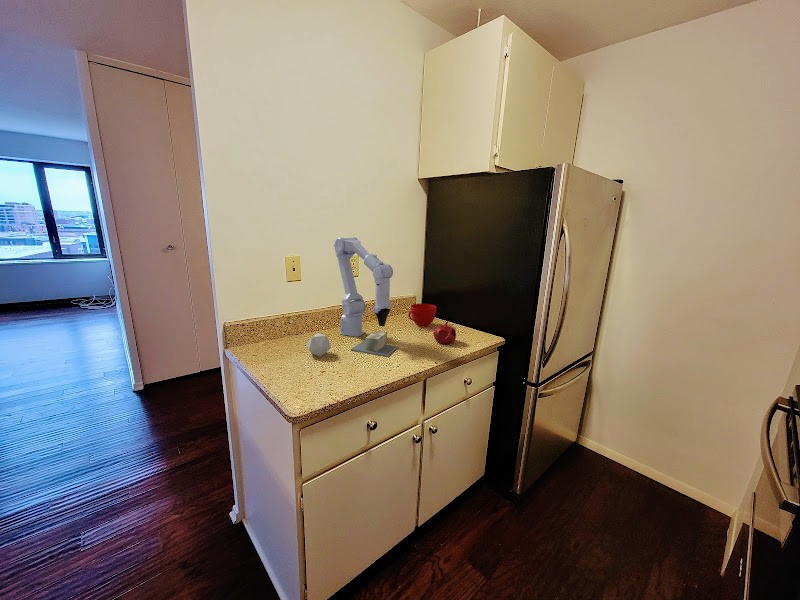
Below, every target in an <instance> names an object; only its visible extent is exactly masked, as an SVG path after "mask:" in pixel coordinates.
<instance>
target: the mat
mask: <svg viewBox="0 0 800 600" xmlns="http://www.w3.org/2000/svg"><path fill="white" fill-rule="evenodd" d="M398 347H399V346H397V345H390V344H386V345H385V346H383V347H382V348H381V349H380V350H378V351H371V350H366V340H363V341H361V342H360V343H358V344H356V345H354V346H353V347H352V348H350V352H358V353H364V354H369V355H373V356H380V357H381V356H382V357H385V358H386V357H387V358H388V357H390V356H391V354H392V353H394V352H395V351H396V350H397V349H398Z"/></svg>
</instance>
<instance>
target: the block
mask: <svg viewBox="0 0 800 600" xmlns="http://www.w3.org/2000/svg"><path fill="white" fill-rule="evenodd" d="M365 341H366V350H371V351H378V350H380V349H381V348H382V347H383V346H385V345H388V332H387V331H380V330H375V331H374V332H372V333H371V334H369V335H367V336H366V337H365Z"/></svg>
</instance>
